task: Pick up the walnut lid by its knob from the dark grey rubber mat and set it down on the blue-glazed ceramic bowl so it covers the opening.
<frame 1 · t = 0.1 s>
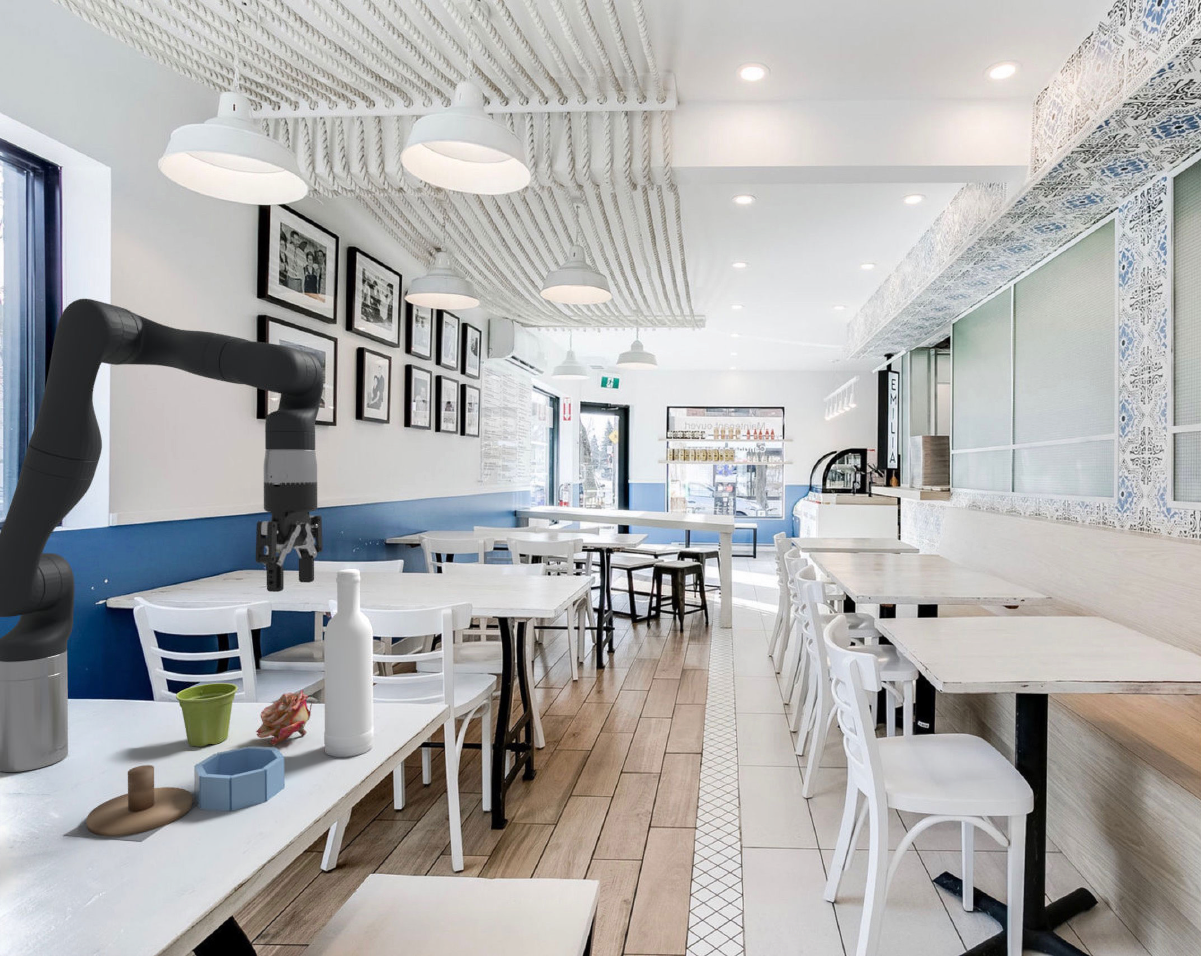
hand: (291, 586, 111), 29 cm above the table, fingers open, 8 cm apart
plant pot: (207, 741, 126), on the table
lid: (141, 814, 98), point 1 cm above the table, touching mat
bottle: (349, 749, 123), on the table
bowl: (240, 795, 105), on the table
mat: (141, 818, 98), on the table
flower: (284, 741, 127), on the table
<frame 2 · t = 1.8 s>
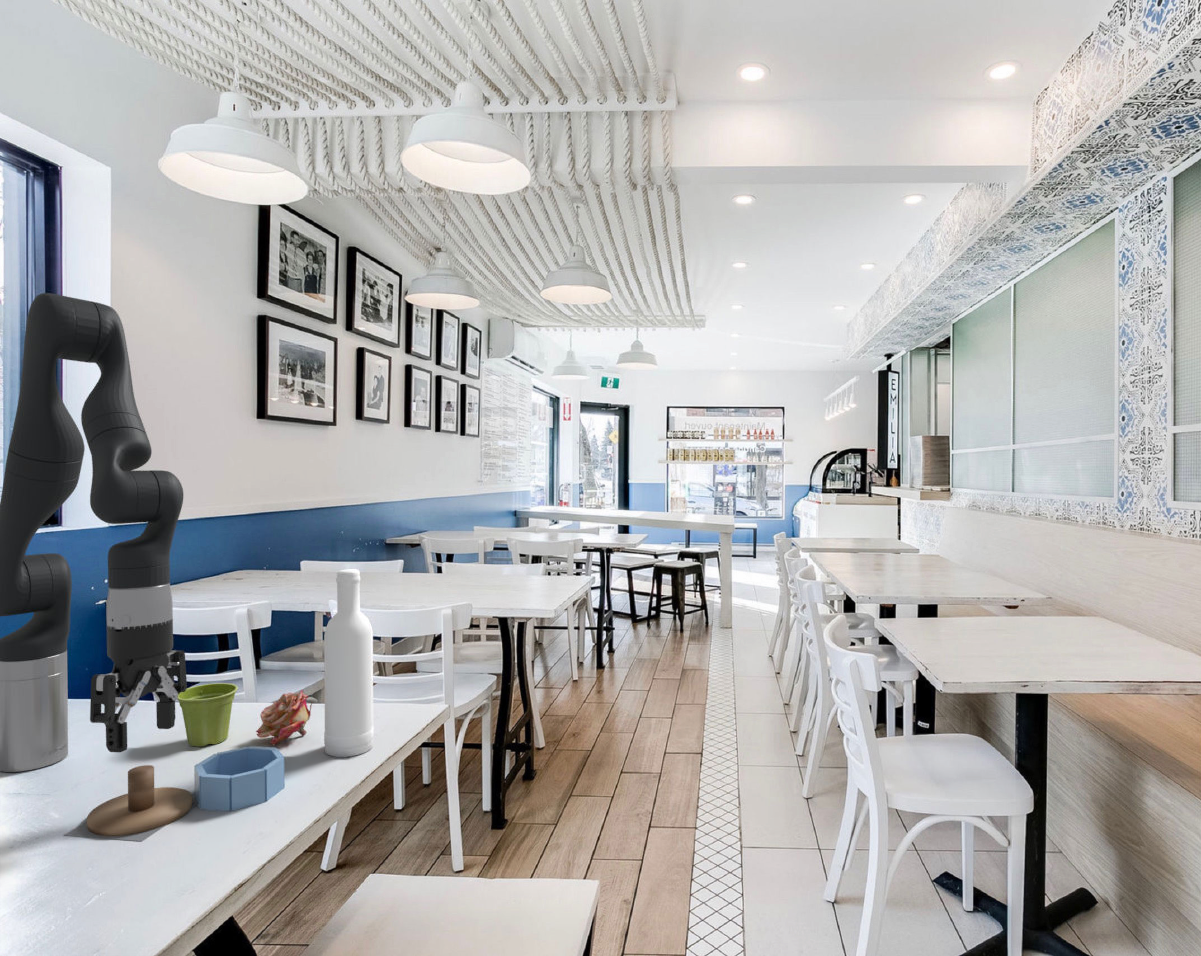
hand: (142, 739, 98), 11 cm above the table, fingers open, 8 cm apart
nothing on the table moved.
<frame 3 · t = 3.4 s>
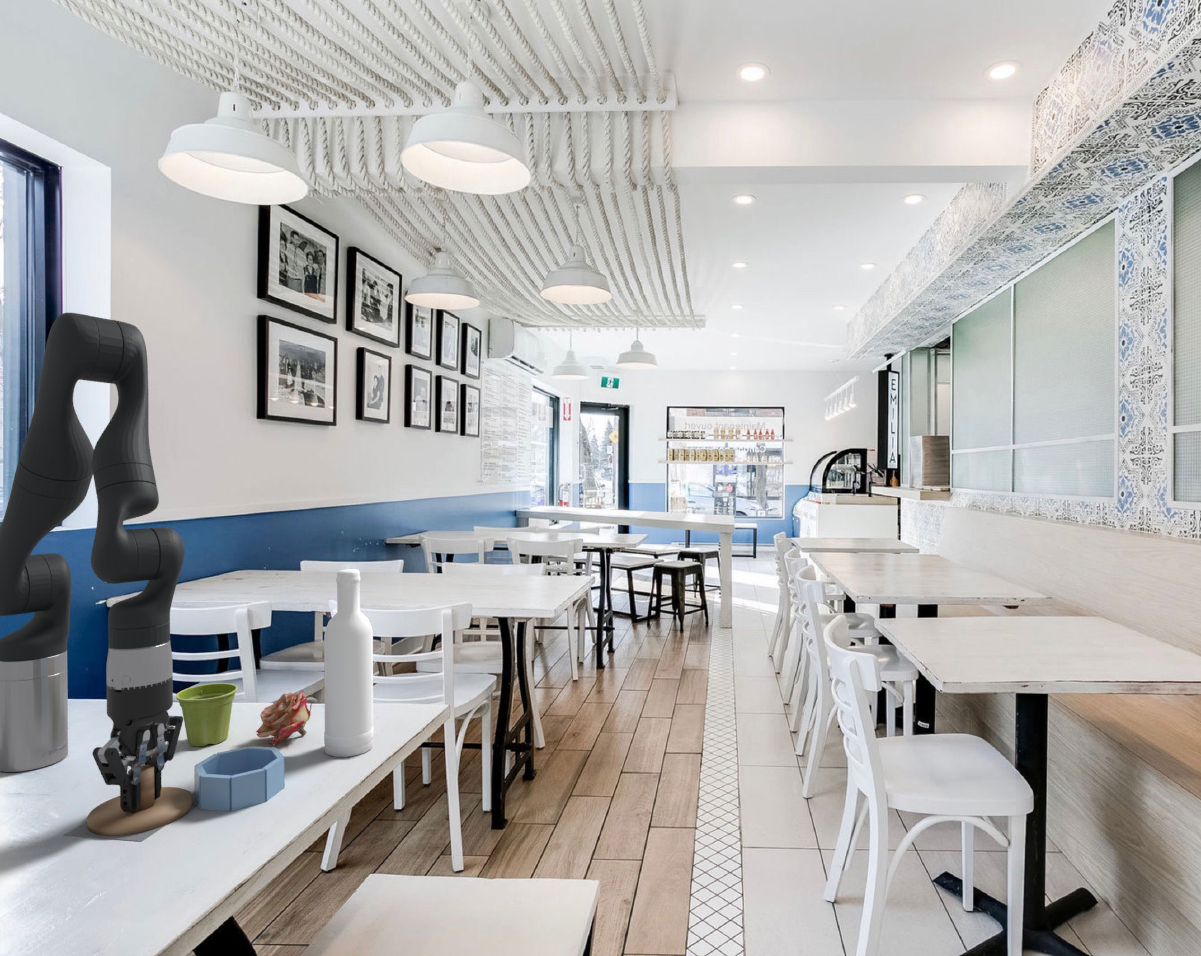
hand: (141, 804, 98), 2 cm above the table, fingers closed on lid, 3 cm apart
lid: (141, 813, 98), point 1 cm above the table, touching gripper, mat
everything else where it was.
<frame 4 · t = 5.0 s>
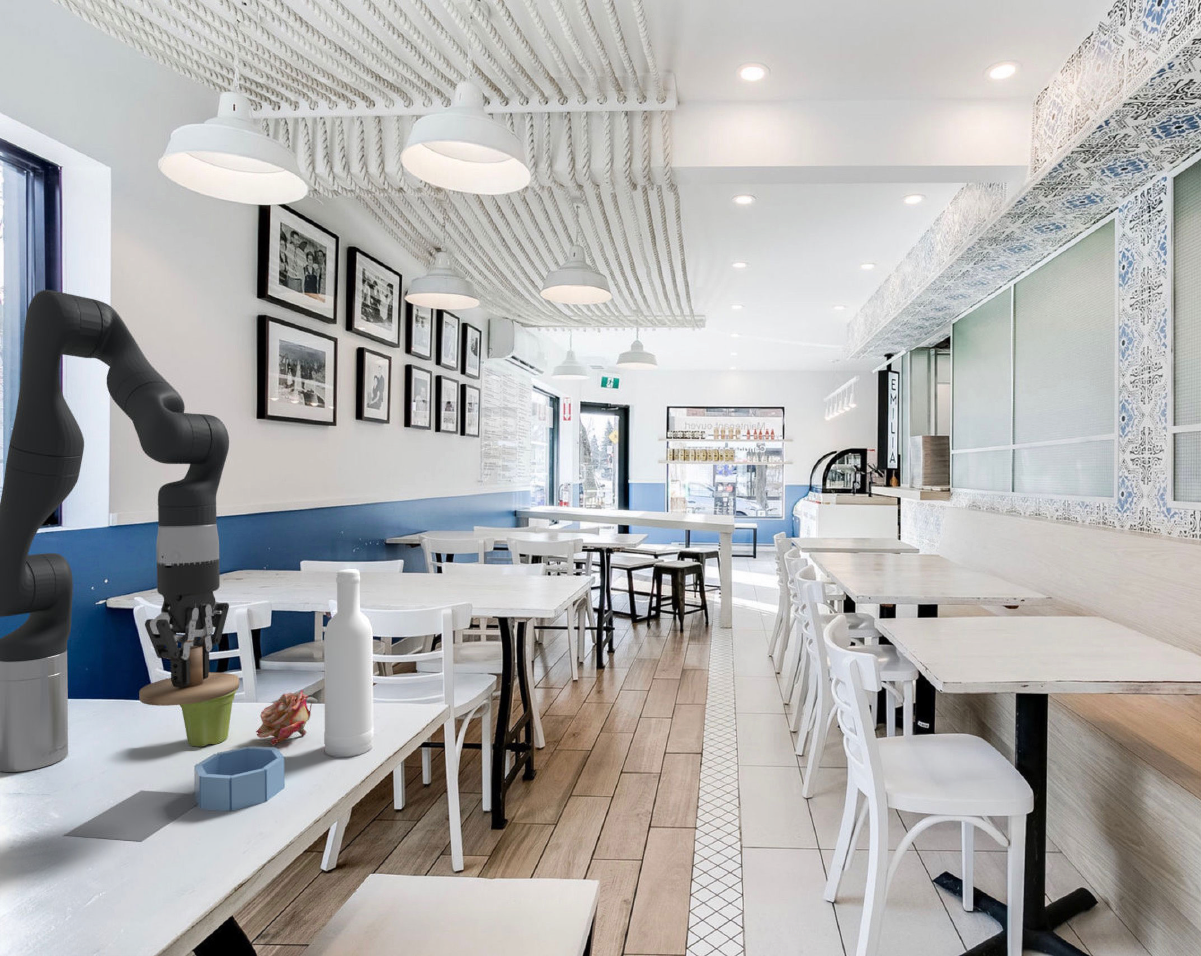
hand: (190, 682, 101), 18 cm above the table, fingers closed on lid, 3 cm apart
lid: (190, 691, 101), point 16 cm above the table, touching gripper
everything else where it was.
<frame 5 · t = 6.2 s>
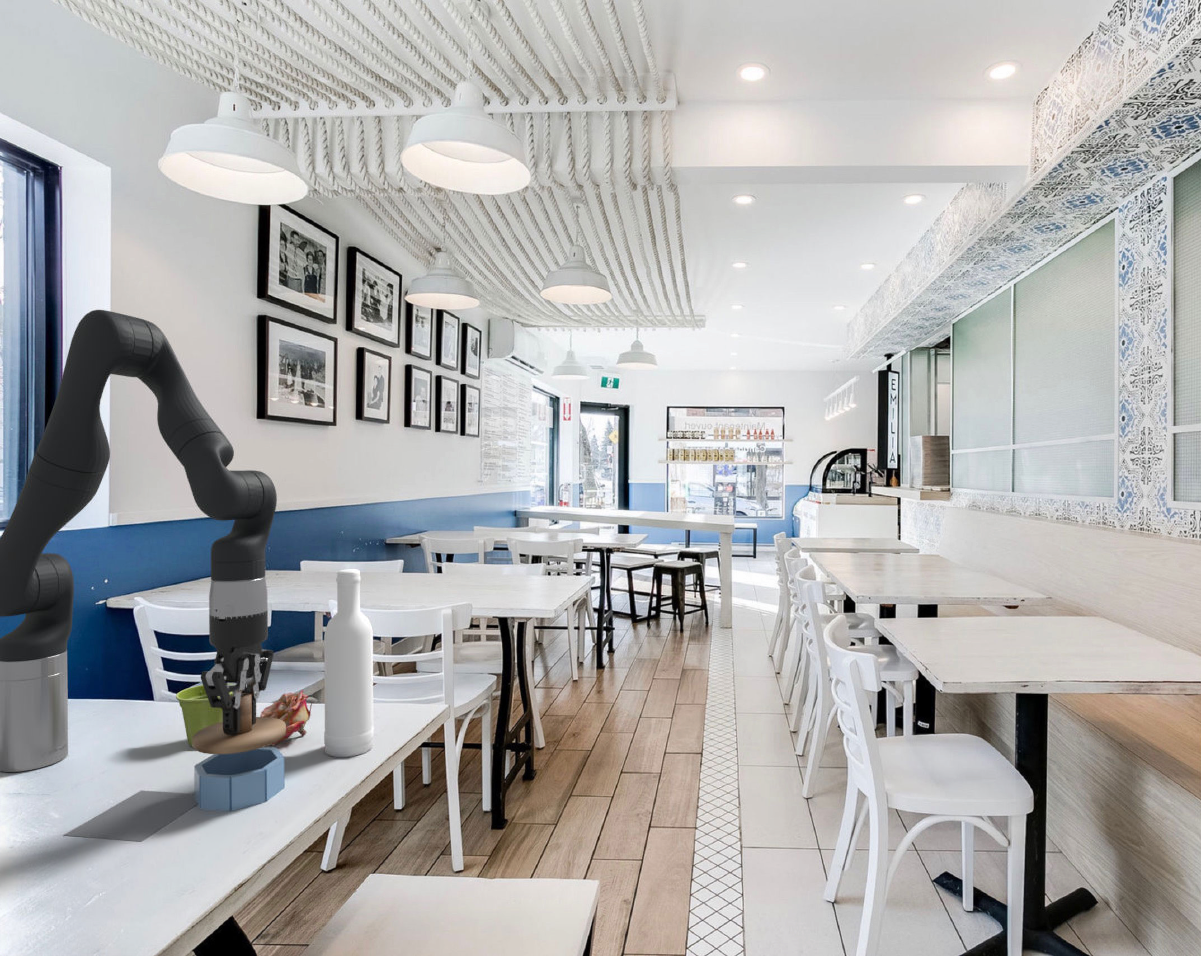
hand: (239, 728, 105), 10 cm above the table, fingers closed on lid, 3 cm apart
lid: (240, 737, 105), point 8 cm above the table, touching gripper
everything else where it was.
when the fingers open (7 cm above the table, at t = 6.9 s): lid stays where it is, resting on bowl.
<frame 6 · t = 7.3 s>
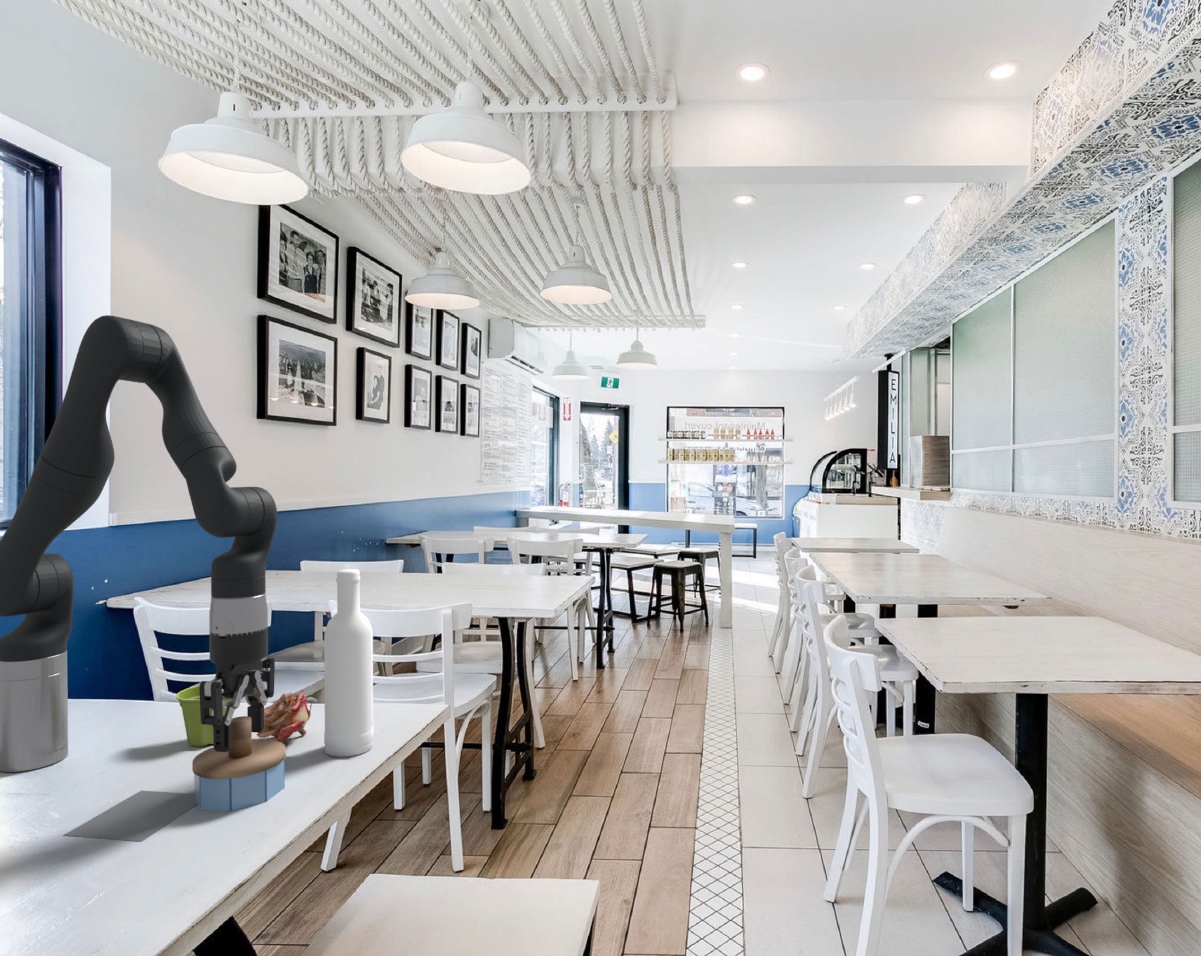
hand: (239, 740, 105), 8 cm above the table, fingers open, 7 cm apart
lid: (240, 761, 105), point 5 cm above the table, touching bowl
everything else where it was.
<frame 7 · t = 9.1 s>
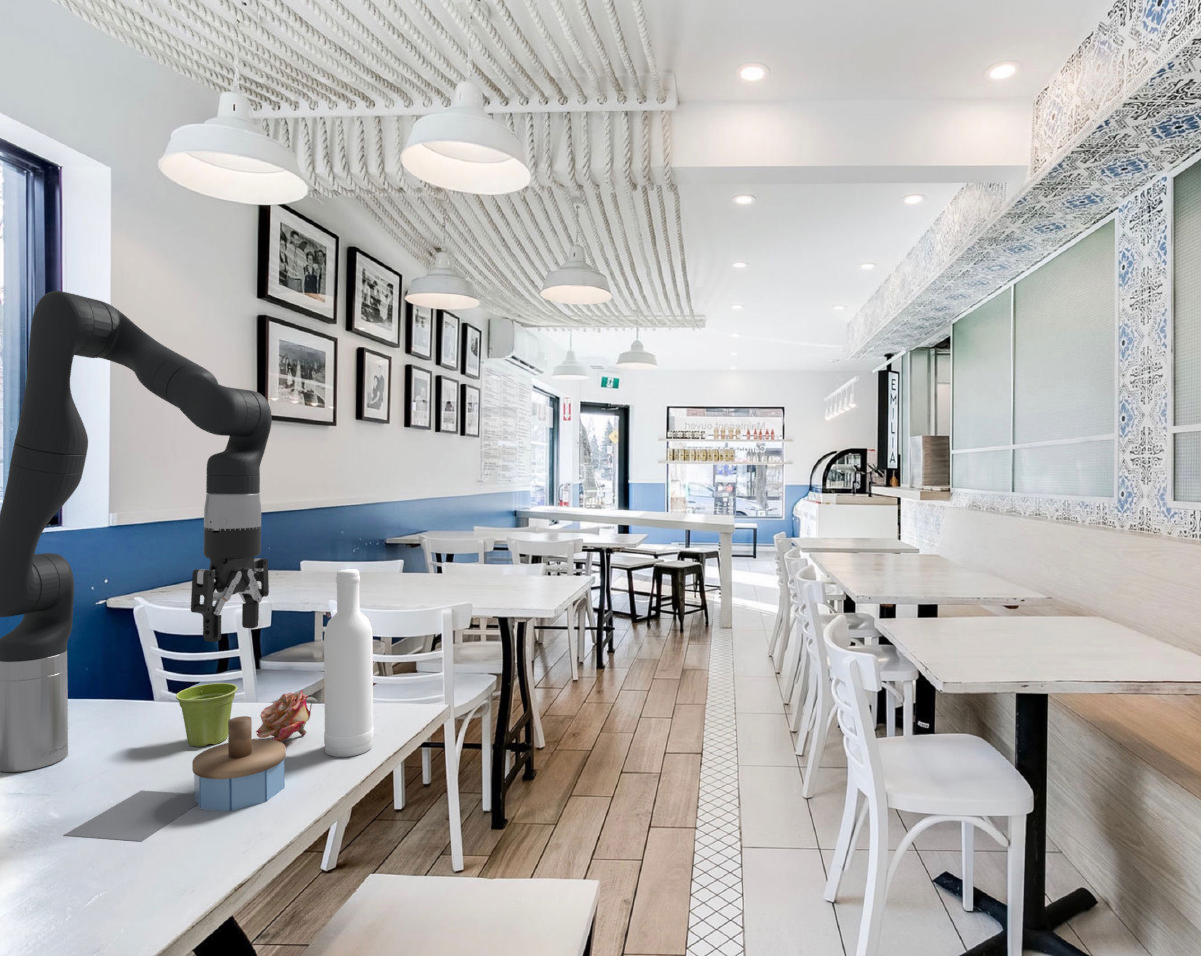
hand: (231, 634, 107), 23 cm above the table, fingers open, 8 cm apart
nothing on the table moved.
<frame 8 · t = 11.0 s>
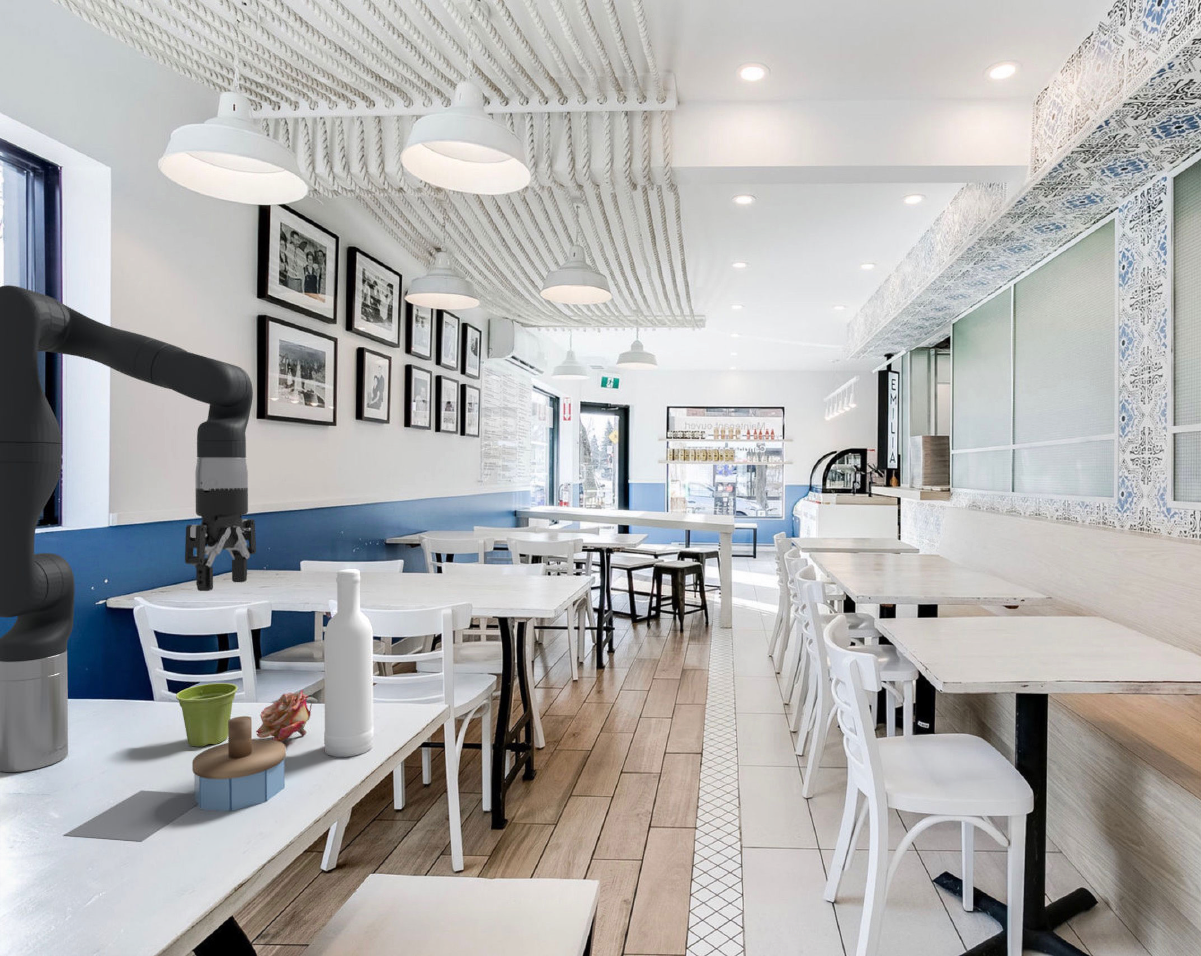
hand: (222, 586, 118), 28 cm above the table, fingers open, 8 cm apart
nothing on the table moved.
at the end: lid 0.0 cm off-centre on the bowl, point 5.0 cm above the bowl's base; lid tilted 0°; the gripper is holding nothing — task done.
